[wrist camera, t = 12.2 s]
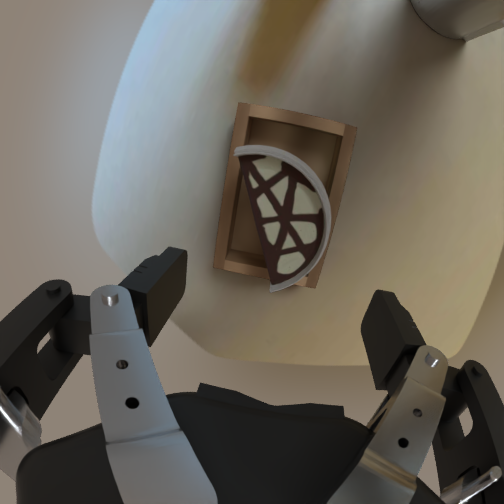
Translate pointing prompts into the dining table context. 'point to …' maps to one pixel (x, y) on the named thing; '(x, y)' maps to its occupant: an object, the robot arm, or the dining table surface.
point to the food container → (286, 211)
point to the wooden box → (298, 144)
